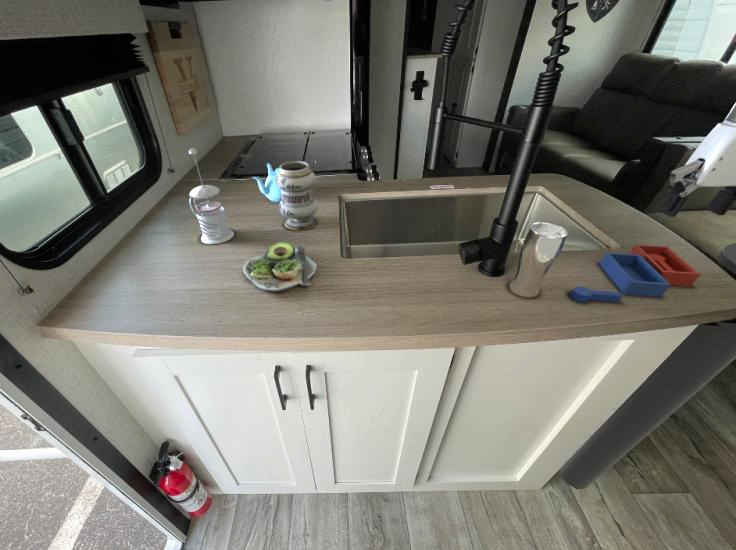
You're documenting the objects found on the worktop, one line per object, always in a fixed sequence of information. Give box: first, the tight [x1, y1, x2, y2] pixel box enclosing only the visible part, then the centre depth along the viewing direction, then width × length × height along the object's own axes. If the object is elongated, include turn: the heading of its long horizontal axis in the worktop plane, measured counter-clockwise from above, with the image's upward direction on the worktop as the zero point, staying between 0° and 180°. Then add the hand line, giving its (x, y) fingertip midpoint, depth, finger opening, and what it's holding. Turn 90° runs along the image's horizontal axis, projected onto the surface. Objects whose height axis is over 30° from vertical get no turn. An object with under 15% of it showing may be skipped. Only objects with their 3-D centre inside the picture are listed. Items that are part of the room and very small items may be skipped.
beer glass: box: [508, 221, 569, 298], centre depth 69 cm, size 7×7×15 cm
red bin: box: [628, 244, 702, 287], centre depth 77 cm, size 12×7×3 cm, turn 170°
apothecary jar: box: [275, 160, 319, 231], centre depth 98 cm, size 12×12×18 cm
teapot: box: [252, 162, 282, 203], centre depth 118 cm, size 15×15×10 cm
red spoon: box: [648, 253, 674, 271], centre depth 77 cm, size 9×3×2 cm, turn 170°
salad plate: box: [242, 241, 317, 293], centre depth 80 cm, size 19×18×5 cm
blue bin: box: [599, 252, 671, 298], centre depth 75 cm, size 12×7×3 cm, turn 170°
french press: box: [188, 147, 235, 245], centre depth 91 cm, size 10×12×25 cm
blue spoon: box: [569, 285, 623, 303], centre depth 70 cm, size 9×3×2 cm, turn 80°
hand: (690, 213), depth 64 cm, fingers open, 9 cm apart
